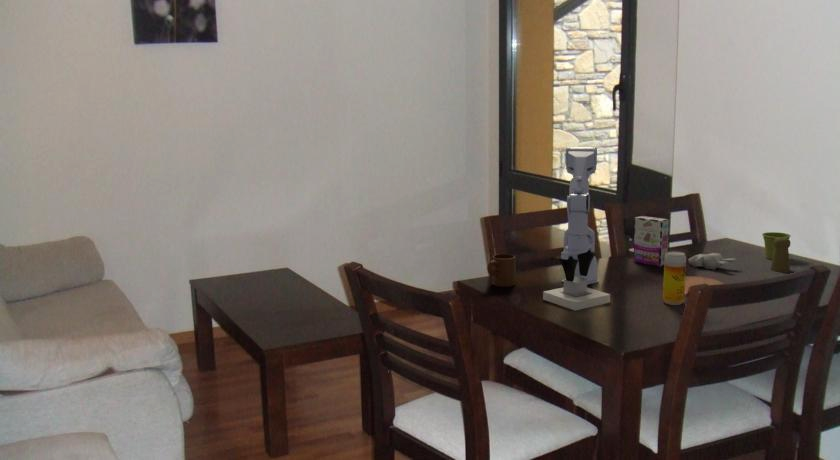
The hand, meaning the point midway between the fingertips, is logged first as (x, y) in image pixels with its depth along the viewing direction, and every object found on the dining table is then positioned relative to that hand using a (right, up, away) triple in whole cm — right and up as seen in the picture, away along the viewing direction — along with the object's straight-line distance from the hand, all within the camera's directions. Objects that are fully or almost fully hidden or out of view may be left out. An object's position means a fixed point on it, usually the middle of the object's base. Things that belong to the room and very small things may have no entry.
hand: (576, 278), depth 247 cm
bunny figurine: (+53, +1, +37) cm, 65 cm away
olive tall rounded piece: (+75, +1, +33) cm, 82 cm away
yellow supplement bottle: (+28, -7, -2) cm, 29 cm away
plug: (0, -6, +2) cm, 6 cm away
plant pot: (+80, +4, +49) cm, 94 cm away
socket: (0, -7, +1) cm, 7 cm away
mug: (-21, -4, +20) cm, 29 cm away
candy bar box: (+35, +2, +45) cm, 57 cm away
